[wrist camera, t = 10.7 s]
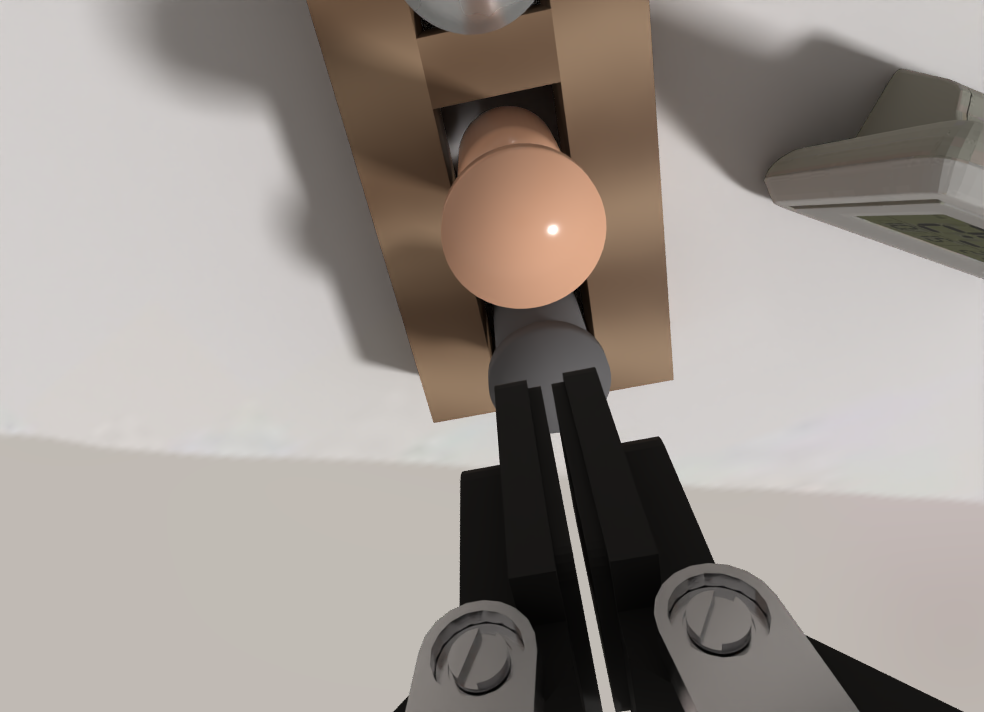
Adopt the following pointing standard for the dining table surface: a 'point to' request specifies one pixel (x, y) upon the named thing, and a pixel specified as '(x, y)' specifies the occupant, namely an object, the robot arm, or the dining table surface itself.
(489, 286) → the terracotta peg
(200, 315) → the dining table surface
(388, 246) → the walnut block
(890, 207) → the digital clock
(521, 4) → the grey peg
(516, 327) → the charcoal peg
